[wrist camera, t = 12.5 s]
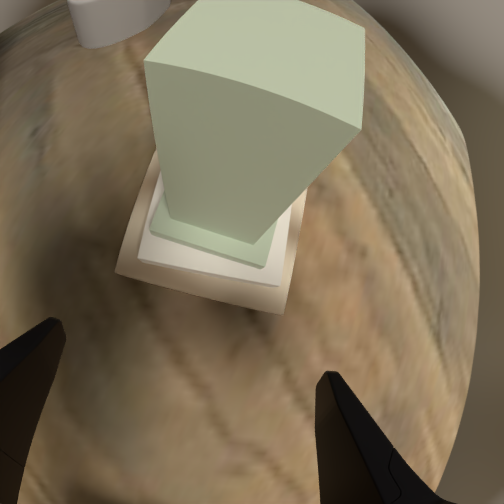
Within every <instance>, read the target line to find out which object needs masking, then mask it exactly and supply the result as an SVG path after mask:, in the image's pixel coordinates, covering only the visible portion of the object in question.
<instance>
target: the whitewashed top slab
mask: <svg viewBox="0 0 504 504" xmlns="http://www.w3.org/2000/svg"><path fill="white" fill-rule="evenodd" d="M164 190H165V189H164V184H163V179H162V174H161V171H160V174H159V177H158V181H157V184H156V187H155V191H154V194H153V198H152V201H151V205H150V209H149V212H148V216H147V220H146V224H145V228H144V232H143V236H142V240H141V244H140V248H139V253H138V257H137V258H138V259H139V260H140V261H142V262H143V263H148V264H152V265H157V266H162V267H166V268H171V269H176V270H181V271H186V272H191V273H196V274H201V275H206V276H211V277H216V278H221V279H227V280H232V281H237V282H242V283H248V284H253V285H259V286H264V287H270V288H274V287H279V286H280V285H281V278H282V272H283V265H284V258H285V251H286V244H287V237H288V230H289V222H290V215H291V207H292V204H291V205H290V206H289V207H288V209H287V210H286V211H285V212H284V213H283V214H282V215H281V216H280V217H279V218H278V221H277V225H276V228H275V232H274V236H273V240H272V243H271V247H270V251H269V255H268V258H267V262H266V266H265V267H264V268H262V269H261V270H260V269H257V268H254V267H251V266H247V265H244V264H241V263H238V262H235V261H231V260H228V259H225V258H222V257H219V256H216V255H212V254H209V253H206V252H203V251H200V250H197V249H194V248H191V247H187V246H184V245H181V244H178V243H175V242H172V241H169V240H166V239H163V238H160V237H156V236H153V235H152V234H151V233H150V231H149V228H150V226H151V223H152V220H153V218H154V215H155V213H156V210H157V208H158V205H159V202H160V200H161V198H162V195H163V193H164Z"/></svg>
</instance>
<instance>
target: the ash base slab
mask: <svg viewBox="0 0 504 504" xmlns="http://www.w3.org/2000/svg"><path fill="white" fill-rule="evenodd" d="M160 171H161V169H160V164H159V159H158V153H157V148H156V150H155V152H154V155H153V157H152V160H151V162H150V165H149V167H148V170H147V172H146V175H145V178H144V180H143V183H142V186H141V188H140V191H139V194H138V197H137V200H136V202H135V205H134V208H133V211H132V214H131V217H130V220H129V223H128V226H127V230H126V233H125V236H124V239H123V243H122V246H121V250H120V253H119V256H118V260H117V264H116V267H115V271H114V273H116V274H119V275H122V276H125V277H129V278H132V279H136V280H139V281H143V282H146V283H150V284H153V285H157V286H161V287H164V288H168V289H172V290H176V291H180V292H183V293H187V294H191V295H195V296H199V297H203V298H207V299H211V300H215V301H219V302H223V303H228V304H232V305H236V306H241V307H245V308H249V309H254V310H258V311H263V312H267V313H272V314H277V315H284V310H285V305H286V301H287V296H288V291H289V286H290V281H291V276H292V271H293V266H294V261H295V255H296V250H297V245H298V239H299V234H300V228H301V223H302V217H303V211H304V205H305V199H306V193H307V188H306V189H305V190H304V191H303V192H302V194H301V195H300V196H299V197H298V198H297V199H296V200H295V201H294V202H293V203H292V207H291V215H290V222H289V230H288V237H287V244H286V251H285V258H284V265H283V272H282V278H281V285H280V286H279V287H274V288H270V287H264V286H259V285H253V284H248V283H242V282H237V281H232V280H227V279H221V278H216V277H211V276H206V275H201V274H196V273H191V272H186V271H181V270H176V269H171V268H166V267H162V266H157V265H152V264H148V263H143V262H142V261H140V260H139V259H138V258H137V257H138V253H139V248H140V244H141V240H142V236H143V232H144V228H145V224H146V220H147V216H148V212H149V209H150V205H151V201H152V198H153V194H154V191H155V187H156V184H157V181H158V177H159V174H160Z"/></svg>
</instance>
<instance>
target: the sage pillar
mask: <svg viewBox="0 0 504 504" xmlns="http://www.w3.org/2000/svg"><path fill="white" fill-rule="evenodd" d="M144 67H145V75H146V83H147V90H148V98H149V105H150V111H151V118H152V124H153V130H154V136H155V142H156V148H157V153H158V159H159V164H160V169H161V174H162V179H163V184H164V189H165V190H164V193H163V195H162V198H161V200H160V202H159V205H158V208H157V210H156V213H155V215H154V218H153V220H152V223H151V226H150V228H149V231H150V233H151V234H152V235H153V236H156V237H160V238H163V239H166V240H169V241H172V242H175V243H178V244H181V245H184V246H187V247H191V248H194V249H197V250H200V251H203V252H206V253H209V254H212V255H216V256H219V257H222V258H225V259H228V260H231V261H235V262H238V263H241V264H244V265H247V266H251V267H254V268H257V269H260V270H261V269H262V268H264V267H265V266H266V262H267V258H268V255H269V251H270V247H271V243H272V240H273V236H274V232H275V228H276V225H277V221H278V218H279V217H280V216H281V215H282V214H283V213H284V212H285V211H286V210H287V209H288V207H289V206H290V205H291V204H292V203H293V202H294V201H295V200H296V199H297V198H298V197H299V196H300V195H301V194H302V192H303V191H304V190H305V189H306V188H307V187H308V186H309V185H310V184H311V183H312V182H313V181H314V180H315V179H316V177H317V176H318V175H319V174H320V173H321V172H322V171H323V170H324V169H325V168H326V167H327V166H328V165H329V164H330V163H331V161H332V160H333V159H334V158H335V157H336V156H337V155H338V154H339V153H340V152H341V151H342V150H343V149H344V148H345V147H346V145H347V144H348V143H349V142H350V141H351V140H352V139H353V138H354V137H355V136H356V135H357V134H358V133H359V132H360V131H361V127H362V114H363V98H364V74H365V28H363V27H361V26H359V25H357V24H355V23H353V22H350V21H348V20H346V19H344V18H342V17H339V16H337V15H335V14H333V13H330V12H328V11H325V10H323V9H320V8H318V7H315V6H312V5H310V4H307V3H304V2H301V1H299V0H198V1H197V2H196V3H195V4H194V5H193V6H192V7H191V8H190V9H189V10H188V11H187V12H186V13H185V14H184V15H183V16H182V17H181V18H180V19H179V20H178V21H177V22H176V23H175V24H174V26H173V27H172V28H171V29H170V30H169V31H168V32H167V33H166V34H165V35H164V37H163V38H162V39H161V40H160V41H159V42H158V44H157V45H156V46H155V47H154V48H153V50H152V51H151V52H150V53H149V54H148V56H147V57H146V58H145V59H144Z"/></svg>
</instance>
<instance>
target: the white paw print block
mask: <svg viewBox="0 0 504 504" xmlns="http://www.w3.org/2000/svg"><path fill="white" fill-rule="evenodd" d="M67 2H68V6H69V10H70V14H71V17H72V21H73V24H74V27H75V31H76V34H77V37H78V40H79V43H80V44H81V45H82V46H83V47H85V48H100V47H104V46H108V45H111V44H114V43H117V42H120V41H122V40H124V39H127V38H129V37H131V36H133V35H135V34H137V33H139V32H141V31H143V30H145V29H146V28H148V27H149V26H150V25H152V24H153V23H154V22H155V21H156V20H157V19H158V18H159V17H160V16H161V15H162V14H163V13H164V12H165V11H166V10H167V9H168V7H169V6H170V0H67Z"/></svg>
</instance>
